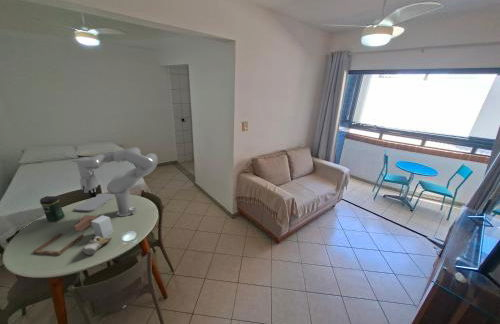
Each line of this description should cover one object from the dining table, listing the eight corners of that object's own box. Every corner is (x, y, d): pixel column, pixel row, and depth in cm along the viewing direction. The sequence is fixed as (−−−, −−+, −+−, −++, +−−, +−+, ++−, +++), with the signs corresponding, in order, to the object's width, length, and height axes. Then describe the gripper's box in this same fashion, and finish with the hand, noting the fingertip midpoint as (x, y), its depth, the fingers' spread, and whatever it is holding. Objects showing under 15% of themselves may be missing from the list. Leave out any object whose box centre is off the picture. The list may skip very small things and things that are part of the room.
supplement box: (114, 232, 132) (110, 217, 127) (103, 239, 125) (98, 223, 121) (106, 229, 134) (102, 214, 130) (95, 237, 127) (90, 221, 123)
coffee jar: (67, 216, 148) (59, 195, 141) (56, 222, 140) (48, 200, 134) (56, 214, 148) (48, 194, 142) (45, 221, 141) (36, 199, 135)
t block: (99, 220, 144) (97, 216, 142) (85, 231, 132) (83, 226, 131) (86, 219, 144) (85, 215, 143) (71, 230, 133) (69, 225, 131)
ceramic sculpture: (74, 245, 109) (95, 229, 123) (77, 257, 111) (97, 240, 126) (92, 246, 108) (111, 230, 123) (95, 258, 111) (113, 241, 125)
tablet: (73, 211, 154) (72, 209, 153) (99, 195, 178) (99, 193, 177) (92, 212, 153) (92, 210, 152) (116, 196, 177) (116, 194, 176)
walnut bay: (83, 236, 128) (83, 234, 127) (59, 255, 113) (58, 253, 112) (60, 234, 129) (60, 232, 128) (33, 253, 114) (32, 251, 113)
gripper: (91, 170, 145) (97, 191, 151) (72, 178, 131) (79, 201, 137) (100, 170, 144) (106, 192, 151) (83, 179, 130) (89, 202, 136)
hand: (93, 196), depth 144 cm, fingers closed
